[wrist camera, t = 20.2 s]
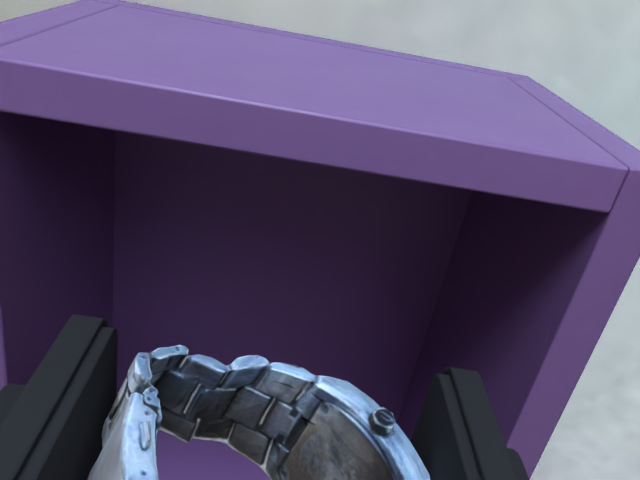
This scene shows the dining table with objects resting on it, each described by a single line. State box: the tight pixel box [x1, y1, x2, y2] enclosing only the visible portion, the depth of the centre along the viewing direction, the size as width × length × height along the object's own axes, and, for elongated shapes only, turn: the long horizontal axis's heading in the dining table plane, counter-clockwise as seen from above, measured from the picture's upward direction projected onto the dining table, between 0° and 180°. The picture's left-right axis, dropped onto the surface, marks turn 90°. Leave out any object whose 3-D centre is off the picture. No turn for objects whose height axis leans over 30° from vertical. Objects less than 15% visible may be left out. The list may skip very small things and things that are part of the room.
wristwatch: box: [87, 345, 430, 480], centre depth 9 cm, size 3×5×5 cm
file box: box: [0, 0, 640, 480], centre depth 18 cm, size 16×14×9 cm
